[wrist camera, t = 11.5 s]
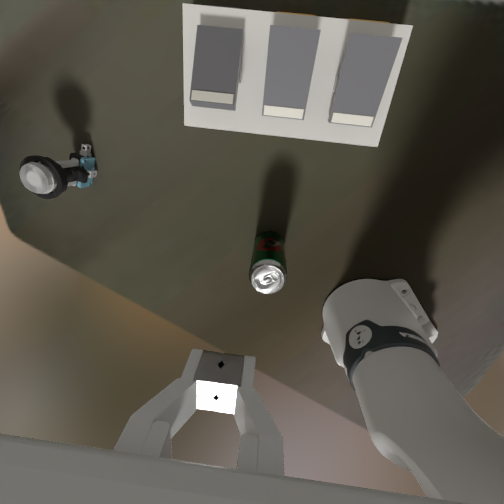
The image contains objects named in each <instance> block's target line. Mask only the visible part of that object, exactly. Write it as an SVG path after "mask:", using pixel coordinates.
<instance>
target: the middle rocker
mask: <svg viewBox="0 0 504 504" xmlns="http://www.w3.org/2000/svg"><path fill="white" fill-rule="evenodd" d="M320 31H321V30H318V29H307V28H297V27H287V26H277V25H270V32H269V43H268V53H267V64H266V75H265V86H264V97H263V108H262V116H271V117H280V118H289V119H298V120H304V116H305V110H306V105H307V100H308V95H309V89H310V84H311V79H312V73H313V68H314V63H315V58H316V52H317V47H318V42H319V37H320Z"/></svg>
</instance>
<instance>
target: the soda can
mask: <svg viewBox="0 0 504 504" xmlns="http://www.w3.org/2000/svg"><path fill="white" fill-rule="evenodd" d="M249 279H250V282H251V283H252V285H253V287H254V288H255V289H256V290H257V291H259V292H261V293H264V294H272V293H275V292H277V291H279V290H280V289H281V288H282V286H283V285H284V284H285V282H286V280H287V268H286V258H285V248H284V241H283V239H282V237H281V236H280V235H279V234H277V233H275V232H272V231H266V232H263V233H261V234H259V235H258V236H257V238H256V240H255V243H254V248H253V254H252V259H251V265H250V270H249Z"/></svg>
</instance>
